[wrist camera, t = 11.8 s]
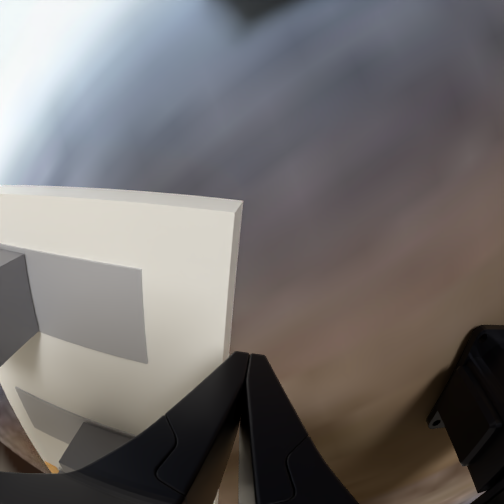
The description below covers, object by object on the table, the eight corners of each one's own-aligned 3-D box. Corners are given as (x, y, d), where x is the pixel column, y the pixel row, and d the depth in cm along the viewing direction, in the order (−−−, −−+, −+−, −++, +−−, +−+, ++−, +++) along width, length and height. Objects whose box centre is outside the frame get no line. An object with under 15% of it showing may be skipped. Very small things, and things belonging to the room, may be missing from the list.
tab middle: (154, 445, 12) (135, 492, 10) (161, 477, 14) (147, 518, 11) (83, 421, 13) (58, 462, 10) (98, 457, 14) (79, 493, 11)
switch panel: (243, 200, 11) (234, 213, 9) (216, 519, 19) (213, 538, 17) (-20, 184, 11) (-49, 192, 9) (72, 475, 20) (63, 490, 18)
